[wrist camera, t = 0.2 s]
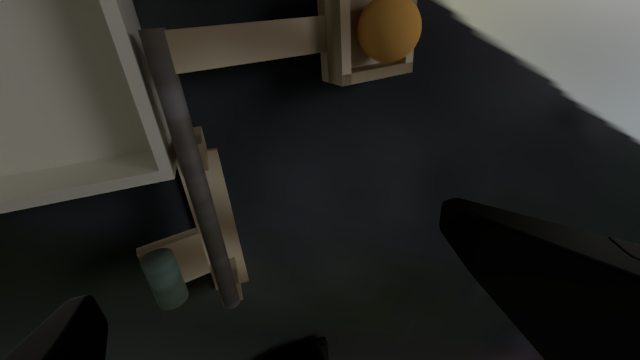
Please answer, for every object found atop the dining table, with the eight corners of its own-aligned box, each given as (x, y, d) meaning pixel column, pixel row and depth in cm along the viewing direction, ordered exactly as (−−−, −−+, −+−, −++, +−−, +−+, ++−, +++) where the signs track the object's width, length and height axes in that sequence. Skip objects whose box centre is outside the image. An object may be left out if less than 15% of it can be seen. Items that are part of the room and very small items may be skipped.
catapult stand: (364, 243, 29) (382, 267, 26) (216, 286, 26) (218, 319, 23) (364, -1, 20) (392, -3, 17) (131, 17, 16) (117, 18, 14)
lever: (381, 226, 28) (402, 242, 26) (170, 324, 21) (176, 356, 19) (389, -24, 19) (421, -29, 17) (20, -10, 12) (2, -16, 10)
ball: (390, 55, 20) (432, 60, 17) (346, 63, 19) (383, 70, 16) (393, -7, 18) (439, -12, 16) (344, -4, 17) (386, -8, 14)
